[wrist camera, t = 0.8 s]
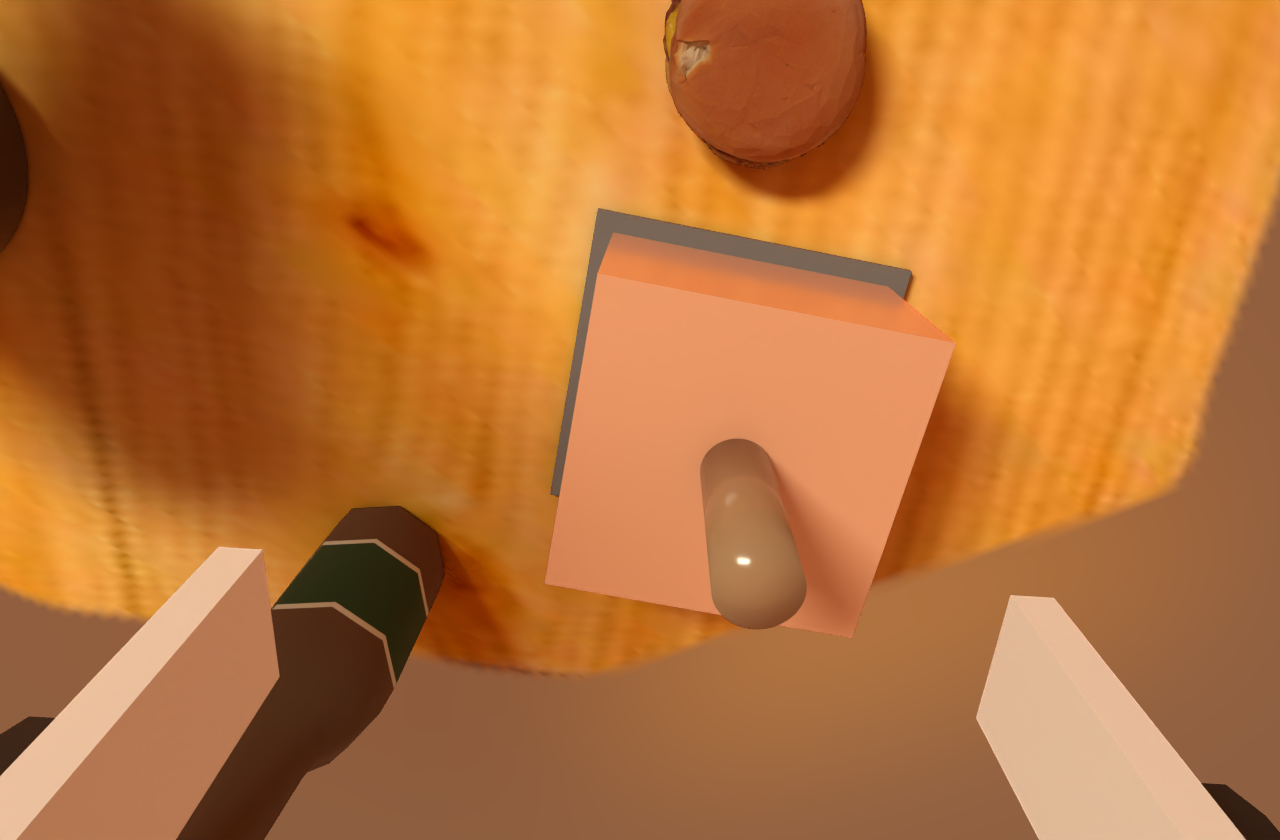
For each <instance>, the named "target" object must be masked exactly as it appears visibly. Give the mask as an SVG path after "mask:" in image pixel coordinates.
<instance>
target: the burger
mask: <svg viewBox="0 0 1280 840" xmlns="http://www.w3.org/2000/svg"><path fill="white" fill-rule="evenodd" d="M671 1H672V4H671V6H670V8H669V10H668V11H667V13H666V18H665V36H664V39H663V43H664V50H665V53H666V80H667V84H668V88H669V91H670V94H671V96H672V98H673V101H674V104H675V107H676V109H677V111H678V113H680V114H681V115H682V117H683V119H684V120H685V122H686V123H687V125H688V126H689V127H690V128H691V129H692V131H694V132H695V134H696V135H697V136H698V137H700V138H701V139H703V140H704V141H705V142H706V143H707V145H708V147H709V148H710V149H711V150H712V151H713V153H714V154H715V155H717V156H718V157H719V158H721V159H724V160H728V161H732V162H733V163H735V164H737V165H744V166H746V167H747V166H750V167H754V168H755V167H757V168H762V169H765V167H773V166H777V165H781V164H784V163H786V162H788V161H789V160H791V159H793V158H795V157H798V156H803V155H805V154H806V153H807V152H809V151H811V150H813V149H814V148H816V147H819V146H820V144H824V142H825V141H826V140H827V139H828V138H829V137H830V136H831V135H832V134H833V133H834V132H836V131H837V130H838V129H839V128H840V126H841V125H842V124H843V123H844V121H845V120H846V119H847V118H848V116H849V114H850V112H851V111H852V109H853V107H854V105H855V103H856V102H857V100H858V98H859V95H860V91H861V88H862V85H863V80H864V73H865V56H864V53H865V51H866V37H867V30H866V18H865V12H864V8H863V3H862V0H671Z"/></svg>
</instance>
